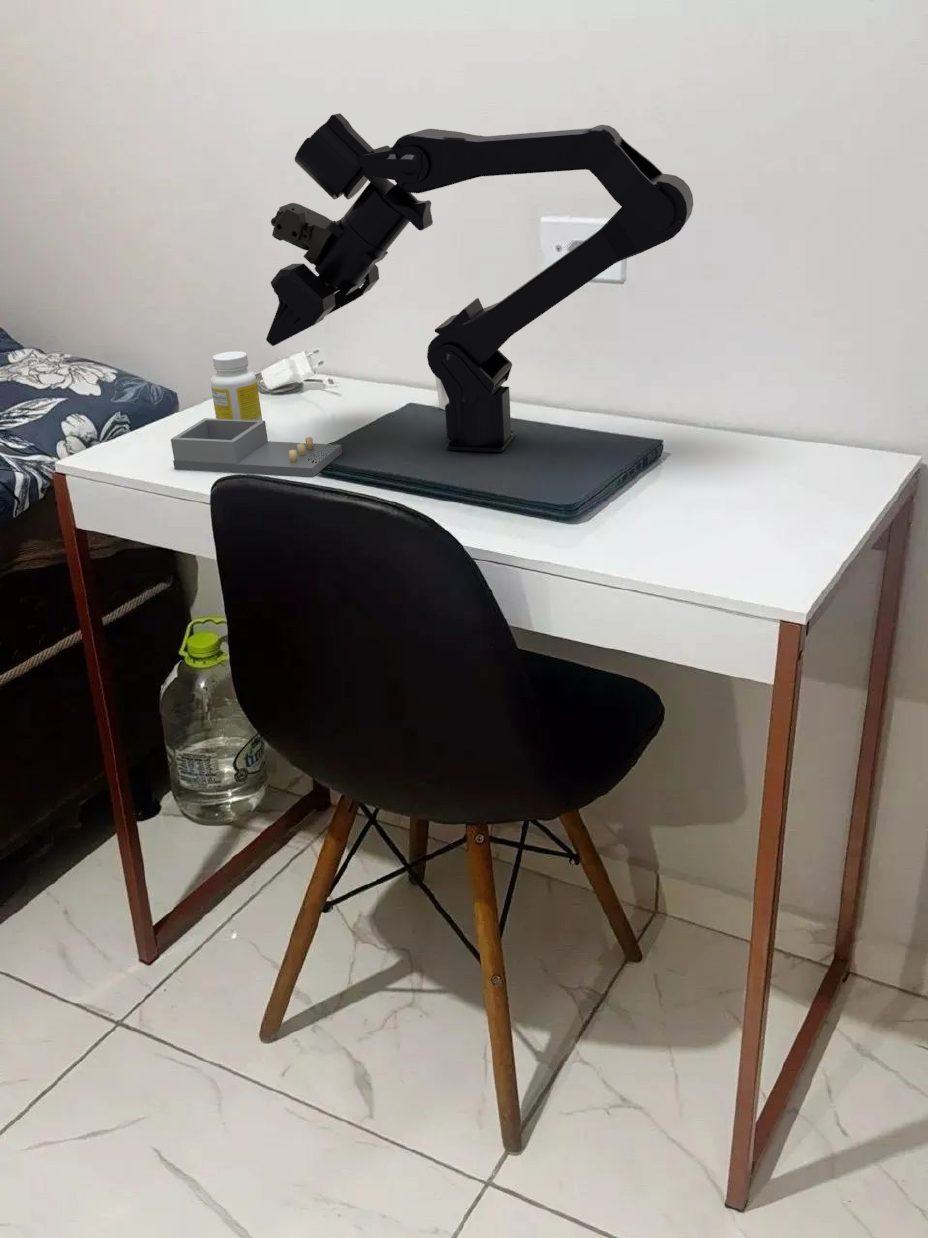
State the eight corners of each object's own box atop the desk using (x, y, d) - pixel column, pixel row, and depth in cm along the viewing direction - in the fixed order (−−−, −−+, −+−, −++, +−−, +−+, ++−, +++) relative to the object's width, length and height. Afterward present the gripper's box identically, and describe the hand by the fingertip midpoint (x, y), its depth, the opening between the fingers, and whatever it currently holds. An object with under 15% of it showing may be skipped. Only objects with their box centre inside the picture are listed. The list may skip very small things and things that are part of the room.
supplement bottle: (266, 427, 145) (255, 347, 141) (262, 441, 140) (250, 359, 136) (221, 430, 145) (209, 351, 140) (216, 444, 140) (203, 362, 136)
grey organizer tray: (341, 453, 134) (338, 423, 133) (313, 476, 127) (309, 445, 126) (208, 446, 139) (204, 417, 138) (174, 469, 132) (169, 439, 131)
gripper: (342, 166, 134) (267, 267, 142) (276, 187, 118) (195, 300, 126) (414, 236, 135) (335, 332, 143) (358, 267, 120) (273, 373, 127)
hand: (286, 332), depth 135 cm, fingers open, 9 cm apart
